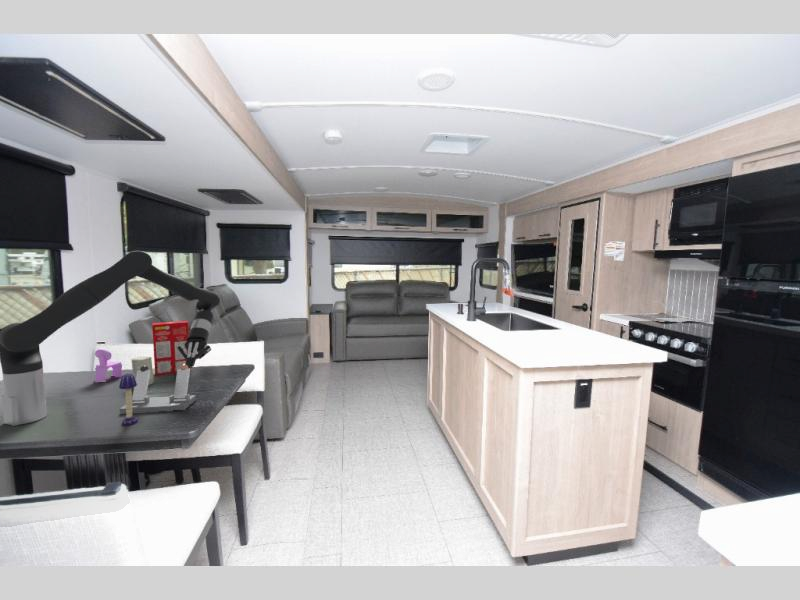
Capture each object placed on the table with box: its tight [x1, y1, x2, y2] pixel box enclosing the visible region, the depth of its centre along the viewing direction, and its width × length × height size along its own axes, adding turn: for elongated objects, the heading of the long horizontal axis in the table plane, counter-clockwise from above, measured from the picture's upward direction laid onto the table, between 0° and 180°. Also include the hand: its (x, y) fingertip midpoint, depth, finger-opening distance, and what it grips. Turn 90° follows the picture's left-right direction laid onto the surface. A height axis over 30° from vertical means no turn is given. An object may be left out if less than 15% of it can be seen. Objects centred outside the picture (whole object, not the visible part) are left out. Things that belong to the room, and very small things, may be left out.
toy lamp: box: [118, 373, 139, 426], centre depth 114 cm, size 5×5×17 cm
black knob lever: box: [132, 366, 151, 402], centre depth 129 cm, size 3×4×13 cm, turn 100°
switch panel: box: [119, 393, 197, 415], centre depth 128 cm, size 10×21×4 cm, turn 100°
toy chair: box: [93, 348, 123, 383], centre depth 158 cm, size 8×9×15 cm
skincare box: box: [131, 356, 154, 386], centre depth 152 cm, size 6×4×12 cm
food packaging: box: [151, 320, 192, 377], centre depth 170 cm, size 15×5×25 cm, turn 126°
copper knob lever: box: [173, 364, 191, 400], centre depth 132 cm, size 3×4×13 cm, turn 100°
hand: (189, 367), depth 138 cm, fingers closed
